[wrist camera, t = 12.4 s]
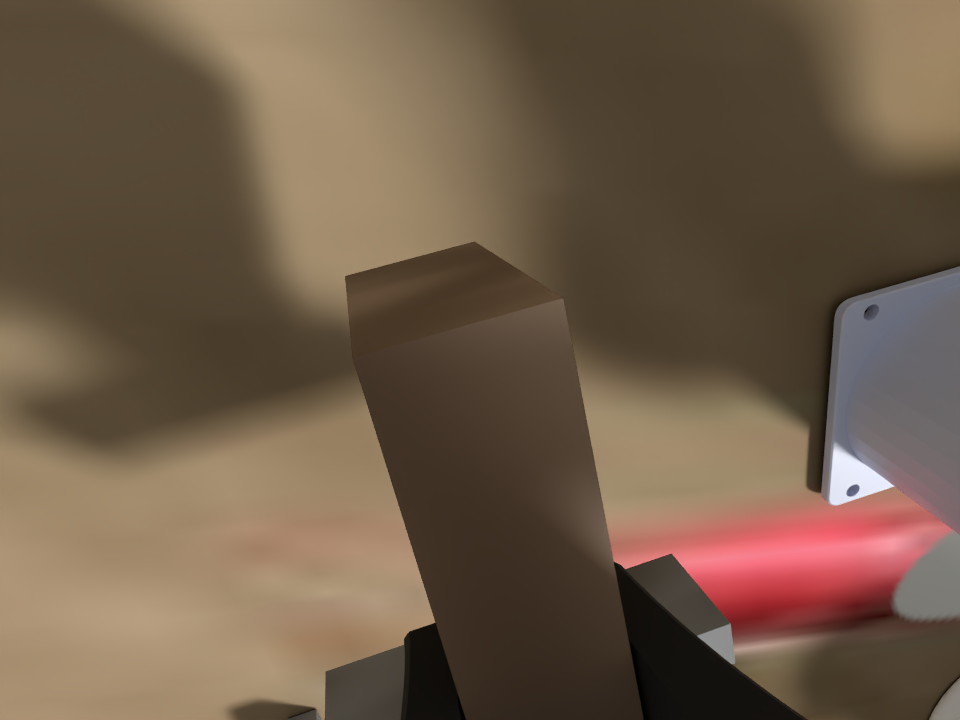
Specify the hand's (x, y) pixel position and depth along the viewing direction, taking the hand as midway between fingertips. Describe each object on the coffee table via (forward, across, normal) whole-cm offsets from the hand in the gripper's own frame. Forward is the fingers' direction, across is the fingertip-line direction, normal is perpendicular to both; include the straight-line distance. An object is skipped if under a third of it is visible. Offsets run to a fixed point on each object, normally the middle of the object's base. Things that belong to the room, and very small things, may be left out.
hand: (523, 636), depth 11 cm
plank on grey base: (+3, 0, -2) cm, 4 cm away
